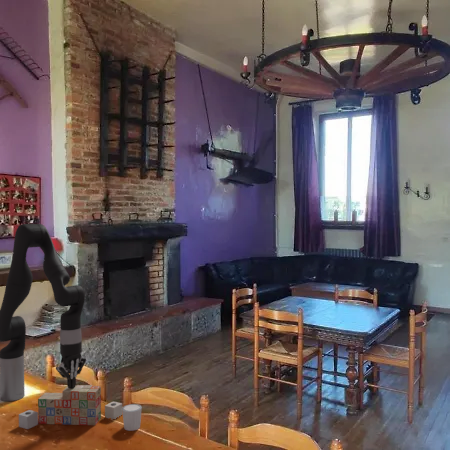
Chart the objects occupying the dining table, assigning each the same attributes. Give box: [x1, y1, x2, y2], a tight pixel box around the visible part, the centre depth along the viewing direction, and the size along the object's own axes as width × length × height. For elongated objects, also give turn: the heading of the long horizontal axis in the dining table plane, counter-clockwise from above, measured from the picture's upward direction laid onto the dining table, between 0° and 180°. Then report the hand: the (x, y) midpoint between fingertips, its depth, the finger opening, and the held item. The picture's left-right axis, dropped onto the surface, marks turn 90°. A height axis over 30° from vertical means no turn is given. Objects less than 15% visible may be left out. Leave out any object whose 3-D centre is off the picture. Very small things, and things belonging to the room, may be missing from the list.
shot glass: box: [122, 403, 143, 432], centre depth 167 cm, size 7×7×7 cm
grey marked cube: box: [18, 409, 39, 430], centre depth 169 cm, size 4×4×5 cm
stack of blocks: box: [37, 384, 102, 426], centre depth 172 cm, size 21×6×12 cm, turn 87°
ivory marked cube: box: [104, 401, 123, 420], centre depth 176 cm, size 4×4×5 cm
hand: (71, 387), depth 172 cm, fingers closed
